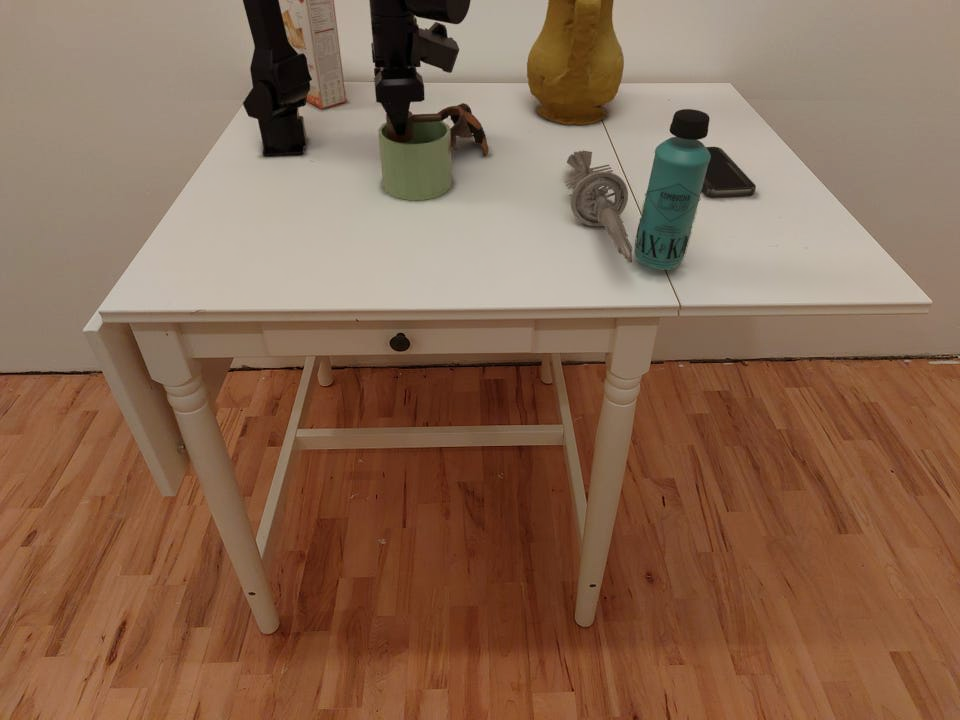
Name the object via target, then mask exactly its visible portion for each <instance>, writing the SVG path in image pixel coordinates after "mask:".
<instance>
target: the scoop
mask: <svg viewBox="0 0 960 720" xmlns="http://www.w3.org/2000/svg"><path fill="white" fill-rule="evenodd" d="M385 119H386V120H385V121H386V122H387V134H388V139H389V140H391V141H394V142H398V143H403V142H408V141H411V140H412V139H413V138H414V129H413V123H416V122H439V121H441V114H440V113H438V112H437V113H436V112H435V113H416V114H415V113H414V114H413V112H412V111H411V110H409V113H408V119H407V125H406V131H405V135H401V136H398V135H397V134H396V132H395V130H394V128H393V126H392V124H391V122H390V120H389V118H388V116H387V114H386V113H385Z"/></svg>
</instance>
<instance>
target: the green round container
mask: <svg viewBox="0 0 960 720" xmlns="http://www.w3.org/2000/svg"><path fill="white" fill-rule="evenodd" d="M450 128H451V126H450V125H448V124H447V123H446V122H444V120H443V121H439V122H416V123H413V129H414V138H413V139H412V140H411V141H408V142H403V143H398V142H394V141H391V140H389V139H388V134H387V121H386V122H383V123H382V124H381V125H380V127H379V128H378V129H377V130H378V131H377V132H378V142H379V143H378V144H379V155H380V165H381V177H382V178H381V179H382V186H383V189H384V191H385V192H386V193H387V194H388V195H390V196H392V197H394V198H397V199H401V200H406V201H425V200H430V199H431V200H432V199H435V198H438V197H440V196H442V195H444V194H445V193H447V192H448V191H449V190H450V188H451V186H452V148H451V131H450Z"/></svg>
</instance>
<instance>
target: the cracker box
mask: <svg viewBox="0 0 960 720" xmlns="http://www.w3.org/2000/svg"><path fill="white" fill-rule="evenodd" d="M279 4H280V9H281V13H282V17H283V22H284V26H285V30H286V34H287V39H288V42H289V43H290V45H291V46H292V47H293V48H294V49H295V51H296V52H297V53H298V54H301V53H304V54H305V56H306V58H307V65H308V70H309V74H310V76H311V78H312V80H311V81H310V91H309V92H308V94H307V100H306V102H308V103H309V104H311V105H314V106H315V107H317V108H319V109H321V110H325V109H328V108H331V107H334V106H337V105H341V104H343V103H346V102H347V96H346V95H347V94H346V88H345V79H344V71H343V65H342V64H343V62H342V55H341V47H340V46H341V45H340V39H339V38H340V37H339V30H338V23H337V22H338V21H337V14H336V7H335V0H279Z"/></svg>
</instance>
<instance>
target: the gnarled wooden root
mask: <svg viewBox="0 0 960 720" xmlns="http://www.w3.org/2000/svg"><path fill="white" fill-rule="evenodd" d="M437 113H440V114H441V121H443V122H444V120H446V119H448V118H449V117H450V121H451V122H452V123H453V125H452V126H451V127H450V131H451V149H453V150H458V148H457V137H458V138H460V139H471V138H473V140H474V144H475V145H480V147H481V150H482V154H483V156H484V157H487V156H488V154H489V145H488V139H487V135H486V134H485V133H486V132H485V130H484V127H483V126H482V124H481V122H480V120H479V119H478V118H477V117H476V116H475V115H474V114H473V112H472V108H471V107H470V106H469V104H467V103H464V102H462V103H460V104H458V105H451V106H448V107H447V106H446V107H445V108H443V109H441V110H439V111H438V112H437Z"/></svg>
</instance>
